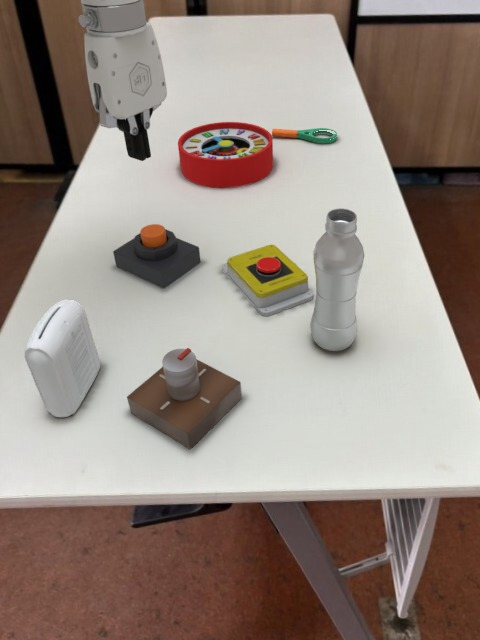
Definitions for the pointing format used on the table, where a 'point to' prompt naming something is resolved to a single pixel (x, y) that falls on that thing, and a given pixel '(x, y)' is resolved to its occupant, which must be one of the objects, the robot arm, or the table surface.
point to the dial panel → (185, 404)
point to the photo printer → (62, 357)
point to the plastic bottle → (337, 281)
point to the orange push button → (153, 235)
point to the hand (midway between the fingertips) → (139, 156)
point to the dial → (181, 374)
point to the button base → (158, 259)
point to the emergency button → (268, 279)
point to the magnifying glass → (306, 134)
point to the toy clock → (226, 154)
